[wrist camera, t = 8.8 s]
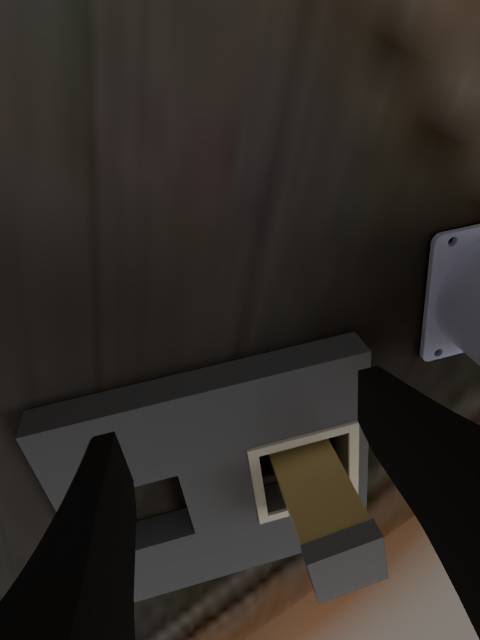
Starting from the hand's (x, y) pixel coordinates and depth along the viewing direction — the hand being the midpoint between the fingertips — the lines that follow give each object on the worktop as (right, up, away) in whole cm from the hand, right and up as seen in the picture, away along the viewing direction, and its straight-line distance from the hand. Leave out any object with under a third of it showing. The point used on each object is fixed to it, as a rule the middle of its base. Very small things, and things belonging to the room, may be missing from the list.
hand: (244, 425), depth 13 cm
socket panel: (-1, -6, +15) cm, 16 cm away
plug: (+3, -5, +16) cm, 17 cm away
